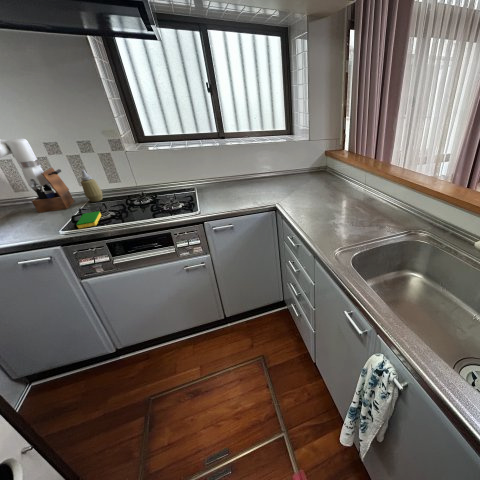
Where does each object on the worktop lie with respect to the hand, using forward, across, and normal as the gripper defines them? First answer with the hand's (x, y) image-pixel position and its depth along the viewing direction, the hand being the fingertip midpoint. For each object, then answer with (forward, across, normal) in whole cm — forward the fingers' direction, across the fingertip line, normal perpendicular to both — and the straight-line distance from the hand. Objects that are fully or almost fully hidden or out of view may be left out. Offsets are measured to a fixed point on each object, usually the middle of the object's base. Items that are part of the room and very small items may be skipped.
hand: (47, 196), depth 146 cm
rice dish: (+1, 0, 0) cm, 1 cm away
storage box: (+7, 0, +2) cm, 7 cm away
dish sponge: (+7, +31, +26) cm, 41 cm away
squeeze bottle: (+7, -3, +20) cm, 21 cm away
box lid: (-7, 0, +6) cm, 10 cm away
